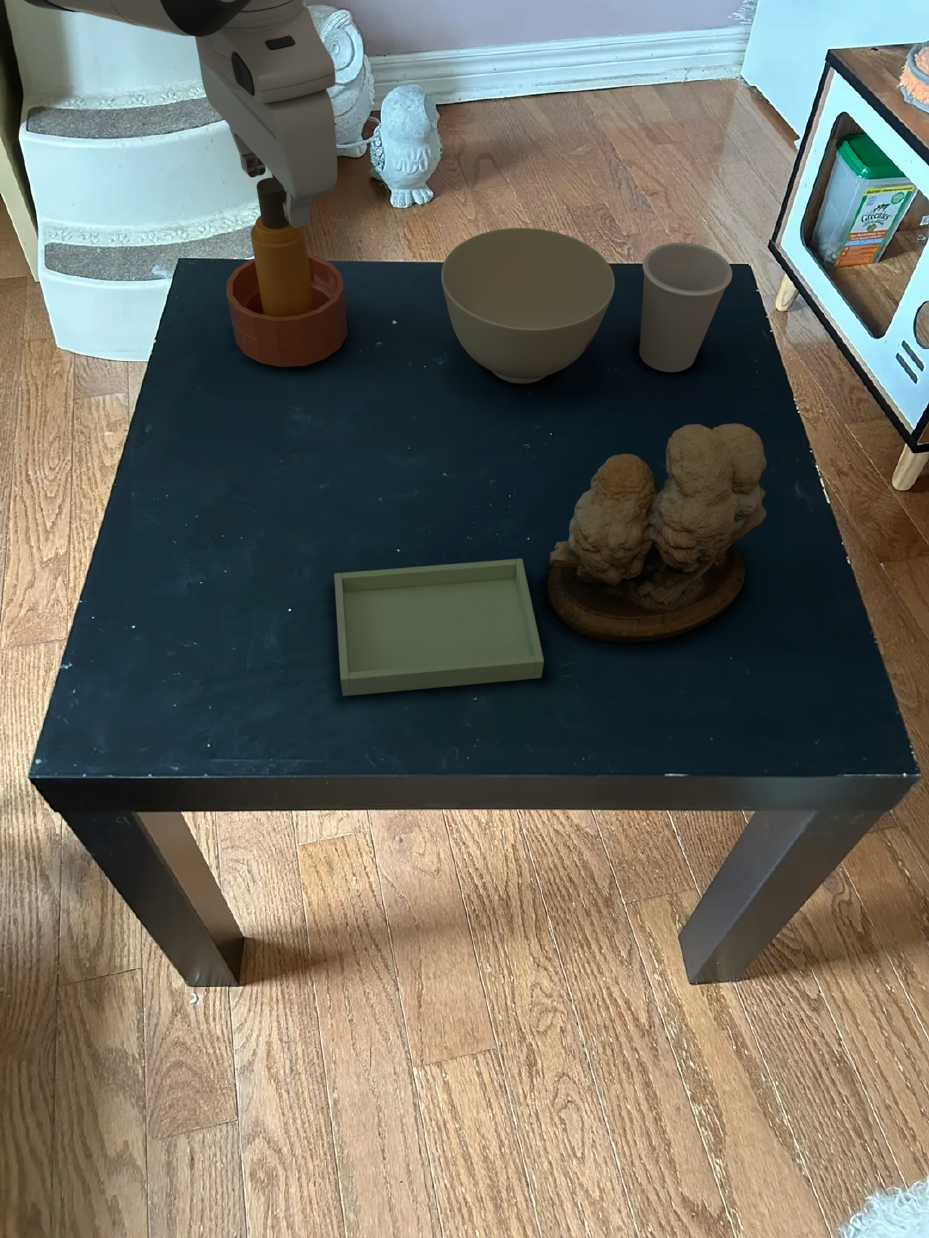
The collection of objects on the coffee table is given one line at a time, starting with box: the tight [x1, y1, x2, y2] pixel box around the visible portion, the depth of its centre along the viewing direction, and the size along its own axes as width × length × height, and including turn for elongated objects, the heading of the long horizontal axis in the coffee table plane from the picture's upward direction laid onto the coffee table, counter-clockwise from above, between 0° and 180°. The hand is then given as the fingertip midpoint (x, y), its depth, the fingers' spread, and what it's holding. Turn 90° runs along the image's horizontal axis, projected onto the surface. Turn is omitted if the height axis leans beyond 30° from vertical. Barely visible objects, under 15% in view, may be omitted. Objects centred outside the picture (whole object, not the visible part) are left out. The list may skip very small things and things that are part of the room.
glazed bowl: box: [226, 253, 348, 368], centre depth 96 cm, size 11×11×6 cm
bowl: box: [440, 227, 616, 385], centre depth 93 cm, size 16×16×10 cm
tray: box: [333, 558, 545, 697], centre depth 75 cm, size 15×10×2 cm
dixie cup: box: [638, 242, 733, 373], centre depth 94 cm, size 8×8×10 cm
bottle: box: [250, 177, 314, 317], centre depth 92 cm, size 5×5×16 cm
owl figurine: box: [546, 423, 768, 644], centre depth 73 cm, size 18×12×17 cm, turn 113°
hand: (275, 197), depth 86 cm, fingers open, 8 cm apart
